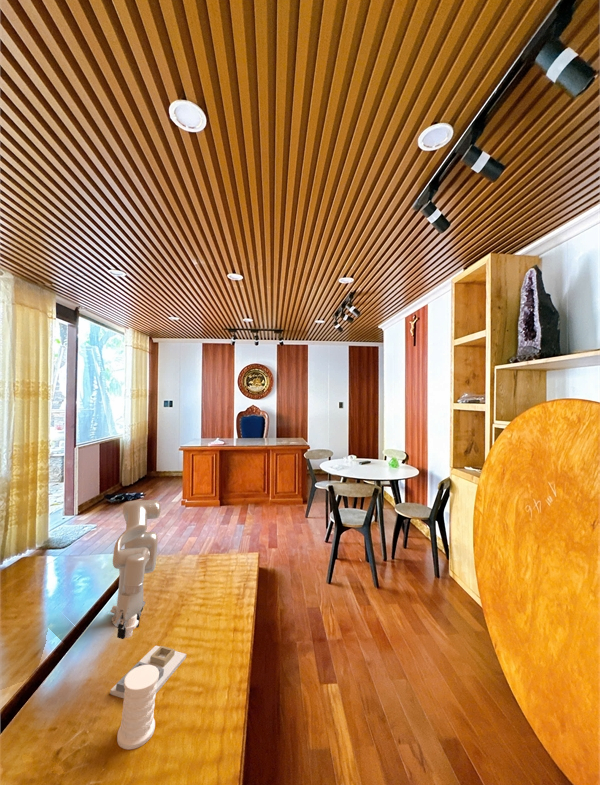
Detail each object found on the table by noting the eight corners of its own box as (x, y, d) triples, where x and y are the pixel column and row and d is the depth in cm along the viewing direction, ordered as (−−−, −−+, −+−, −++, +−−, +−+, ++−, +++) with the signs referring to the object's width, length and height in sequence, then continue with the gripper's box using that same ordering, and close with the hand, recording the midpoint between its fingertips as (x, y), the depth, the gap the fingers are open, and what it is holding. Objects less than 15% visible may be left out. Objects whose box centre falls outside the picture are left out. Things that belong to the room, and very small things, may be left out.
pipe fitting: (139, 630, 138) (141, 610, 139) (131, 641, 131) (133, 620, 132) (124, 629, 138) (126, 609, 139) (115, 640, 131) (117, 619, 132)
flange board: (110, 694, 126) (111, 683, 126) (155, 648, 151) (156, 639, 151) (145, 706, 122) (146, 694, 122) (186, 657, 147) (186, 648, 147)
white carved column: (147, 749, 107) (153, 690, 108) (110, 749, 106) (116, 690, 107) (159, 716, 118) (164, 664, 119) (126, 716, 117) (131, 663, 119)
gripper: (140, 575, 145) (136, 618, 144) (108, 595, 129) (103, 643, 127) (155, 579, 143) (150, 622, 142) (124, 599, 127) (119, 648, 125)
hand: (128, 631), depth 135 cm, fingers closed on pipe fitting, 7 cm apart
